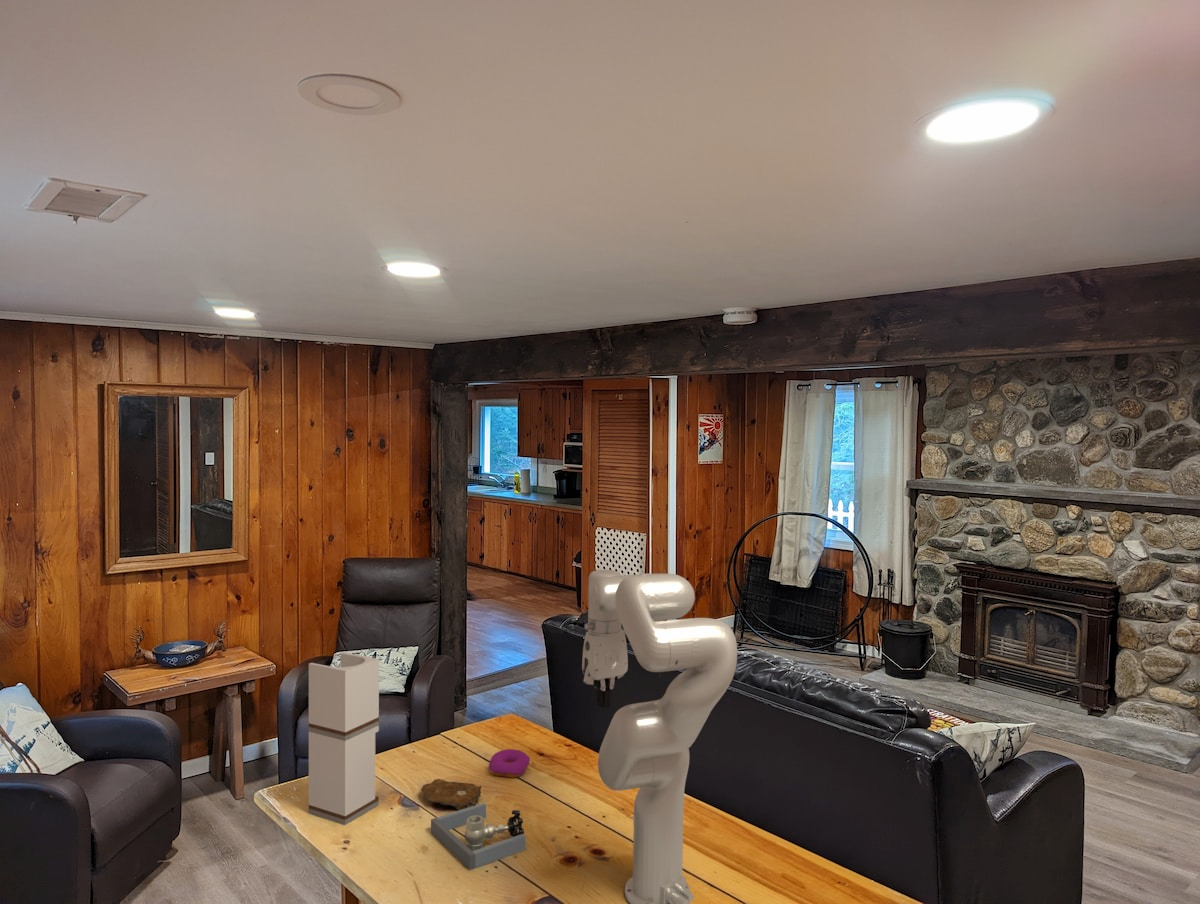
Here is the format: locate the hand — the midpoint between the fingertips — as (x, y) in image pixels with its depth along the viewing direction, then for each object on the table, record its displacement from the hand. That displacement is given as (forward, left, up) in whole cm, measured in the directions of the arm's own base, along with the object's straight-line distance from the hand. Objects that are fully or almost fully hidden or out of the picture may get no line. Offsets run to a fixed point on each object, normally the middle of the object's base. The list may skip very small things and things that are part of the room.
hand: (603, 705), depth 178 cm
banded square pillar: (+41, +45, -27) cm, 67 cm away
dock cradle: (+10, +26, -27) cm, 39 cm away
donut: (+36, +3, -28) cm, 46 cm away
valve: (+6, +25, -27) cm, 37 cm away
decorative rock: (+31, +23, -28) cm, 47 cm away
